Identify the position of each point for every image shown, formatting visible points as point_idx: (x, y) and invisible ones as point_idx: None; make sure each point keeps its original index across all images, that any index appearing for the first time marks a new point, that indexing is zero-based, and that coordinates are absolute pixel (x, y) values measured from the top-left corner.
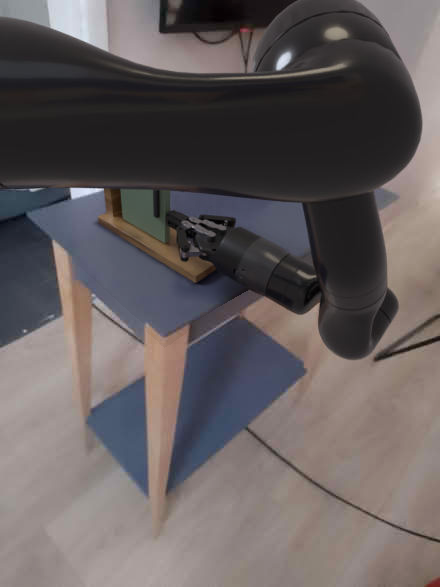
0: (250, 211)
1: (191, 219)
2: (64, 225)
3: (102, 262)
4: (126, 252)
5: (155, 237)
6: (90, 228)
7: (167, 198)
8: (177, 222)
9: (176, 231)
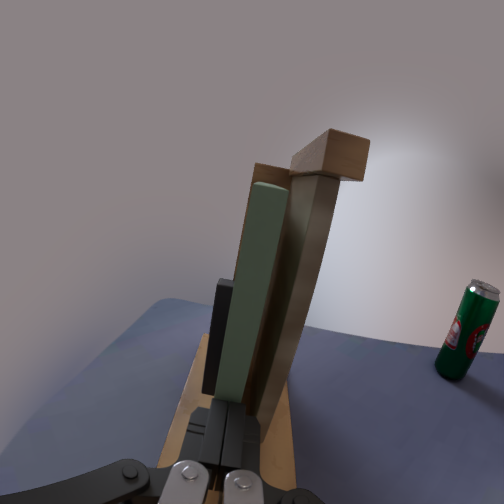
0: (484, 470)
1: (233, 483)
2: (165, 319)
3: (93, 388)
4: (146, 411)
5: None
6: (180, 343)
7: (236, 355)
8: (187, 449)
9: (279, 454)
